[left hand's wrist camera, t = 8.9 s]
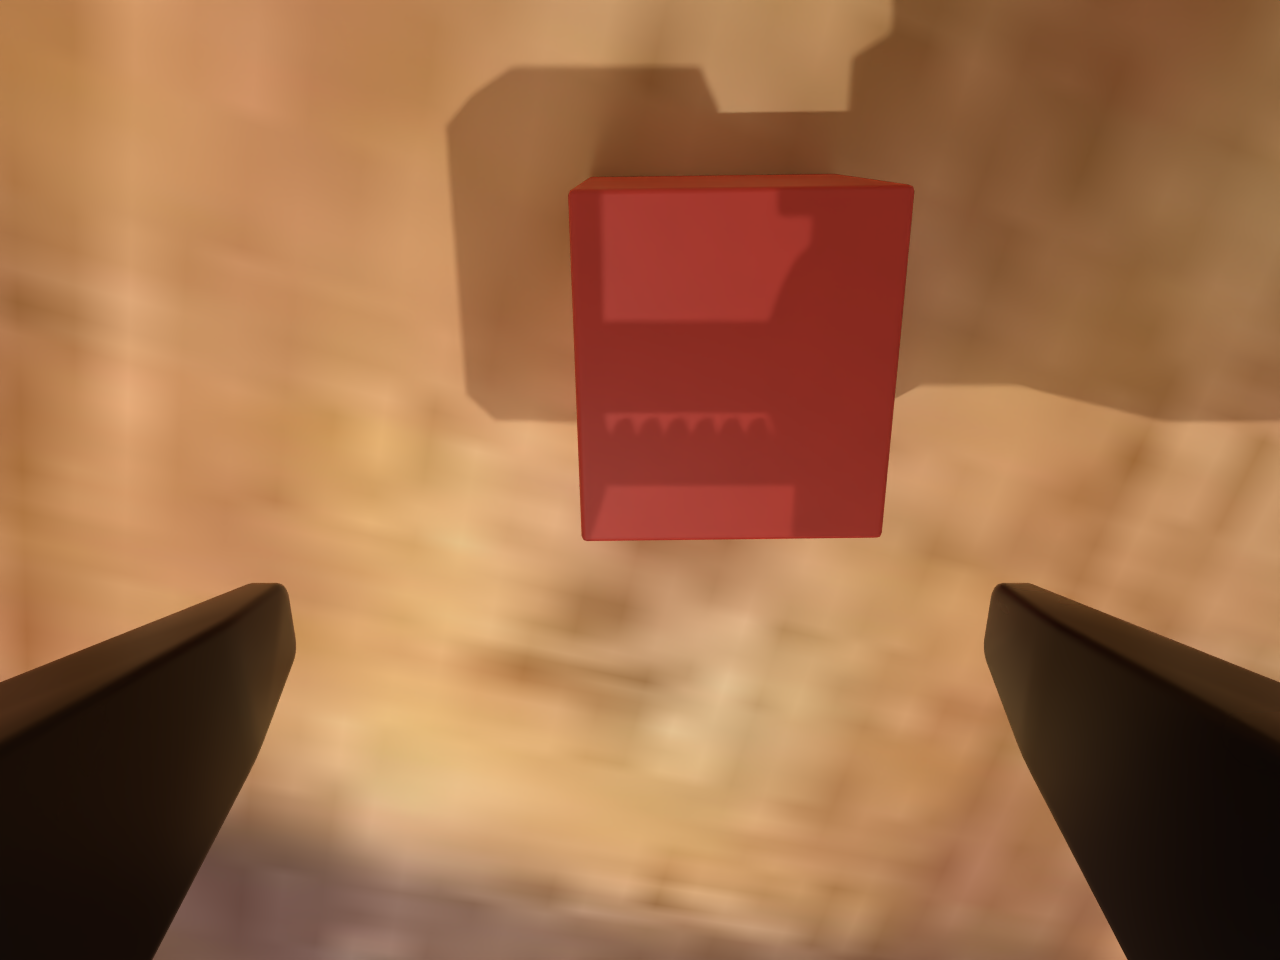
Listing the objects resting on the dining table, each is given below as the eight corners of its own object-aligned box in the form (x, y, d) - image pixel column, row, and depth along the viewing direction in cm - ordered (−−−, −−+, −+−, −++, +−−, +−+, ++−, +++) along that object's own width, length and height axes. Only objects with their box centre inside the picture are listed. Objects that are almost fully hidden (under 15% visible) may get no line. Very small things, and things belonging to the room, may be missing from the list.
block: (838, 173, 16) (917, 184, 12) (820, 440, 18) (882, 539, 13) (587, 177, 16) (567, 189, 12) (595, 442, 18) (581, 542, 13)
